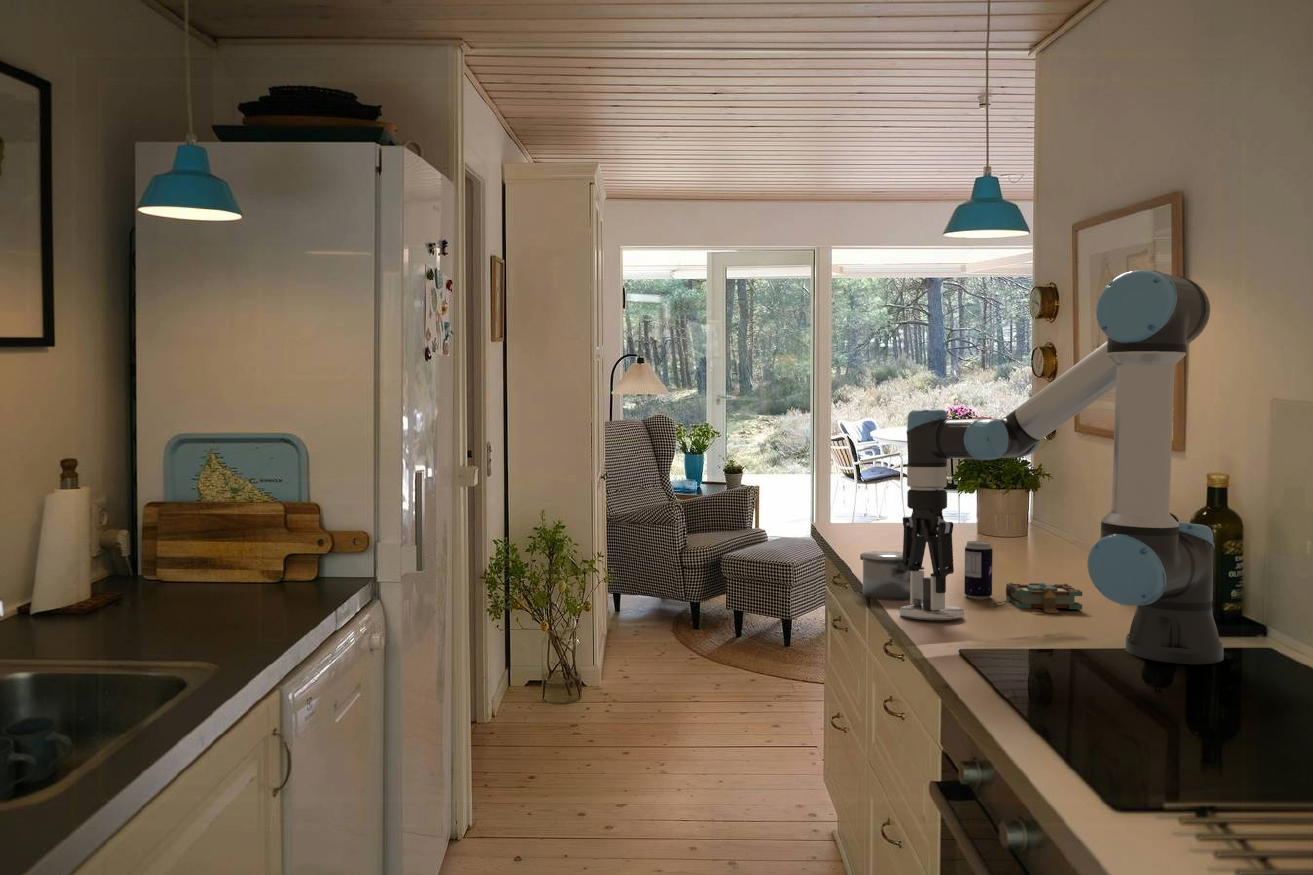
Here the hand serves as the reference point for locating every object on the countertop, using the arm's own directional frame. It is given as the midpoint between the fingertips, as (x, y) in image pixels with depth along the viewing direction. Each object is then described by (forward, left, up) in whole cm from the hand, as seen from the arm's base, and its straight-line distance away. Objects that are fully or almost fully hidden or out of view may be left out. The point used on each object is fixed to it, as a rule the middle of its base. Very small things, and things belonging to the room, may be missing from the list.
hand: (927, 606), depth 199 cm
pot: (+21, -5, -2) cm, 22 cm away
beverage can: (+13, -22, -2) cm, 26 cm away
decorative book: (+3, -28, -2) cm, 28 cm away
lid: (-2, 0, -1) cm, 2 cm away
